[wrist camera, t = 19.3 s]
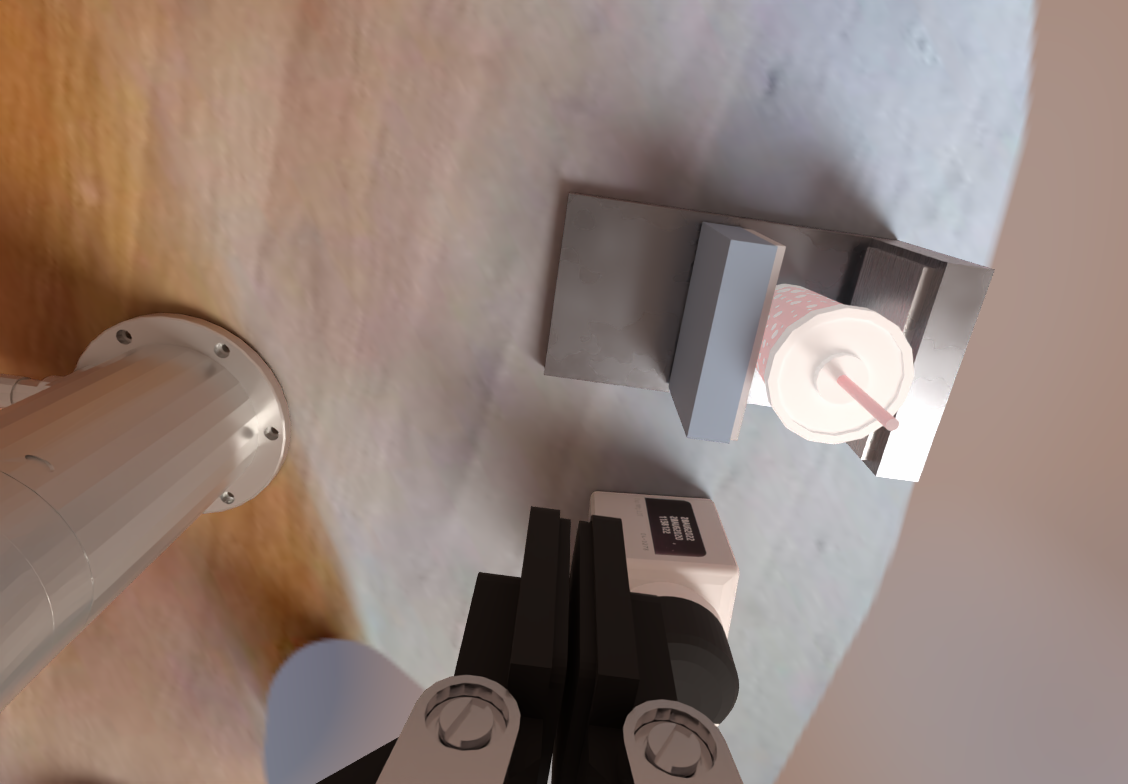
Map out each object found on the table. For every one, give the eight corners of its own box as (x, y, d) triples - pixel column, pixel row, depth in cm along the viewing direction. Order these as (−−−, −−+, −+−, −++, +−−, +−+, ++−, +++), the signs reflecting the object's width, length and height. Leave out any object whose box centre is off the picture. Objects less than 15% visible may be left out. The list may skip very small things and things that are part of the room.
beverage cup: (852, 350, 37) (1000, 462, 24) (748, 394, 38) (835, 524, 25) (817, 249, 36) (956, 312, 22) (708, 298, 37) (780, 385, 23)
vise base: (545, 368, 39) (535, 429, 31) (569, 191, 36) (565, 206, 28) (846, 410, 40) (917, 481, 32) (898, 240, 37) (994, 269, 28)
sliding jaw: (668, 387, 38) (687, 438, 32) (702, 221, 35) (731, 239, 28) (712, 393, 38) (739, 444, 32) (749, 228, 35) (789, 248, 28)
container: (590, 488, 42) (595, 628, 30) (714, 497, 42) (769, 640, 30) (581, 591, 45) (582, 759, 33) (697, 599, 45) (742, 769, 33)
